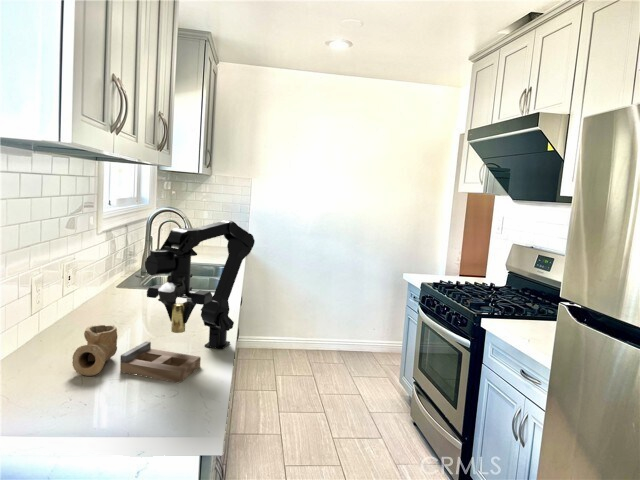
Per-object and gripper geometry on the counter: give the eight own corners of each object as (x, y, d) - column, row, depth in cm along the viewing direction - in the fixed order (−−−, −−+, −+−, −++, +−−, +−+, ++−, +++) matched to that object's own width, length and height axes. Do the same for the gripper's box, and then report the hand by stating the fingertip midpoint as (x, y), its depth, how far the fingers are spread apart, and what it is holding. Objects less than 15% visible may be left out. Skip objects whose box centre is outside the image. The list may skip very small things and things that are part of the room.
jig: (145, 357, 142) (145, 341, 141) (200, 366, 138) (200, 350, 137) (120, 372, 130) (120, 355, 130) (179, 383, 126) (179, 365, 126)
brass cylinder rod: (175, 328, 144) (176, 302, 143) (187, 329, 143) (188, 304, 142) (168, 331, 140) (169, 305, 139) (180, 333, 139) (181, 307, 138)
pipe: (68, 377, 125) (68, 341, 124) (90, 354, 141) (90, 322, 140) (104, 377, 127) (105, 342, 125) (121, 355, 142) (122, 323, 141)
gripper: (136, 272, 134) (134, 325, 136) (196, 280, 130) (193, 334, 132) (158, 266, 144) (156, 315, 146) (214, 273, 140) (211, 323, 142)
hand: (178, 322), depth 141 cm, fingers closed on brass cylinder rod, 4 cm apart
